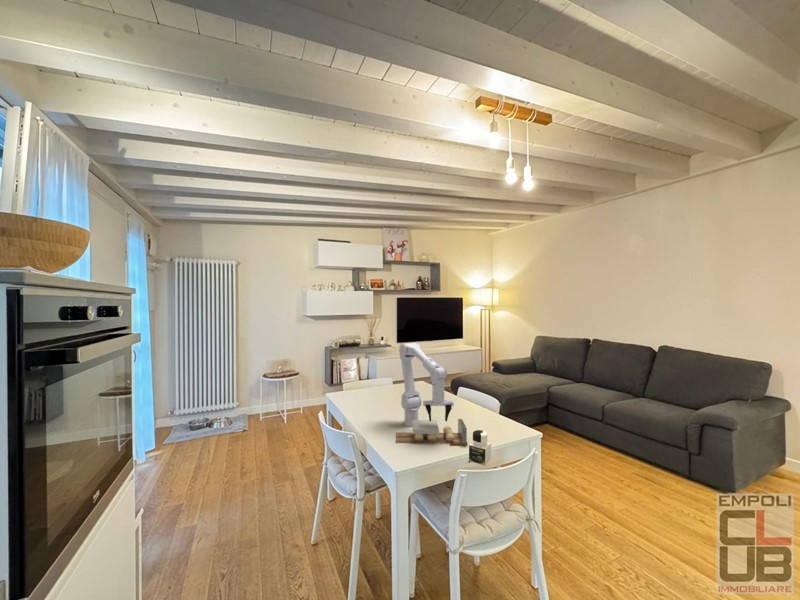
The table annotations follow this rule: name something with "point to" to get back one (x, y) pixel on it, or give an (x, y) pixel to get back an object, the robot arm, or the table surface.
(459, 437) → the roller board
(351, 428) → the table surface
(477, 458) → the medicine bottle
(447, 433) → the roller
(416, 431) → the slab
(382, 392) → the table surface
